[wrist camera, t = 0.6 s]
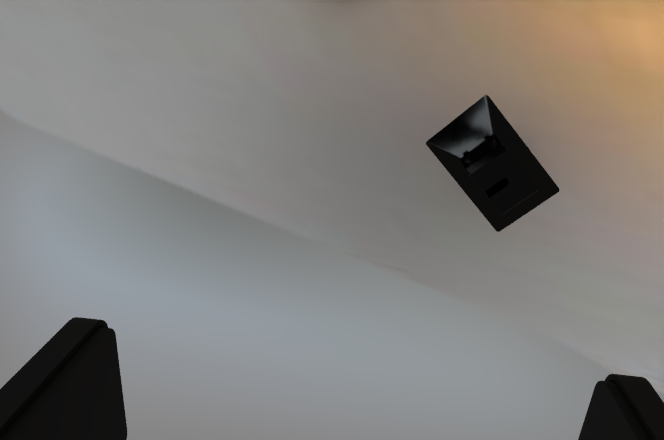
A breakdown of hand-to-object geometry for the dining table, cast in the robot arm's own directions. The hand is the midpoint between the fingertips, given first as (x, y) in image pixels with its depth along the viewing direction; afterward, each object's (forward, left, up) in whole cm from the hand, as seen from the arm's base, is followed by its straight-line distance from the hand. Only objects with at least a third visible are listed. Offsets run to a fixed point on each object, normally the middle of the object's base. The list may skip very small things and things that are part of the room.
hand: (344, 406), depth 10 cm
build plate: (+1, +9, -30) cm, 32 cm away
